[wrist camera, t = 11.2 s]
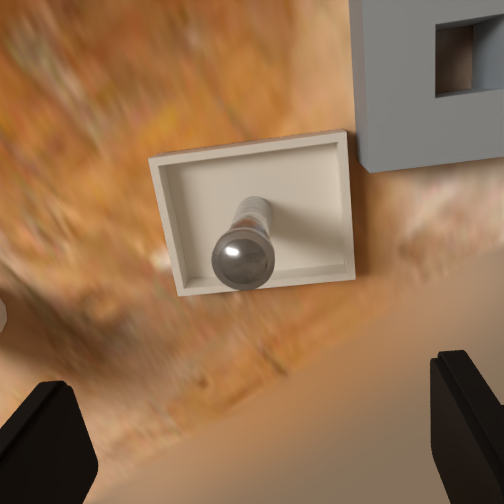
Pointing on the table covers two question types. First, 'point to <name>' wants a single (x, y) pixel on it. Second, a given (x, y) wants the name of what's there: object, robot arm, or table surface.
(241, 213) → the lock pin
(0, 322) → the foam cup
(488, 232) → the table surface
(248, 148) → the tray
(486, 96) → the tensioner block
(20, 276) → the table surface
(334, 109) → the table surface
